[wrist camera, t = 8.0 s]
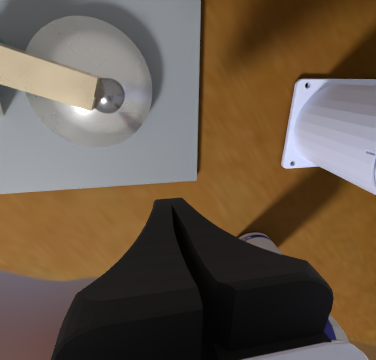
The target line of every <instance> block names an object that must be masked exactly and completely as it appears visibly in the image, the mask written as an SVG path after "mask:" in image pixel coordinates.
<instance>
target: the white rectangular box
mask: <svg viewBox="0 0 376 360" xmlns="http://www.w3.org/2000/svg"><path fill="white" fill-rule="evenodd" d="M0 99H1V98H0ZM2 116H4V114H3V110H2V107H1V103H0V117H2Z"/></svg>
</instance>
